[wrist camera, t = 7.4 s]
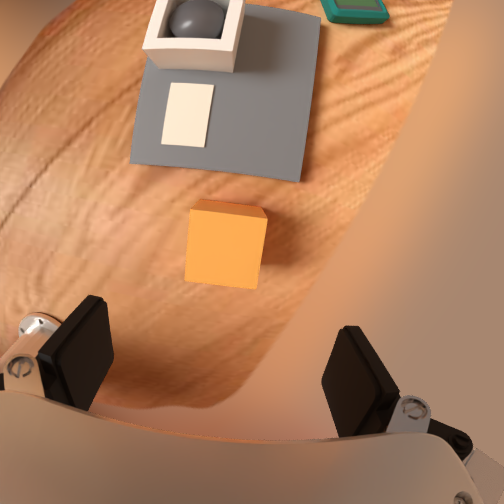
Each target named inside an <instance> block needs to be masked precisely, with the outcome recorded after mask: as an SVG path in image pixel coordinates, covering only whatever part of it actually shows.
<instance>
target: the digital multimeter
mask: <svg viewBox="0 0 504 504" xmlns="http://www.w3.org/2000/svg"><path fill="white" fill-rule="evenodd" d="M320 1H321V3H322V6H323V8H324V11H325V14H326V16H327V19H328V20H329V21H330V22H333V23H348V24H382V23H384V22H385V21H386V20H387V19H389V17H390V15H389V13H388V11H387V10H386V8H385V6H384V4H383V2H382V0H320Z"/></svg>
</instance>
